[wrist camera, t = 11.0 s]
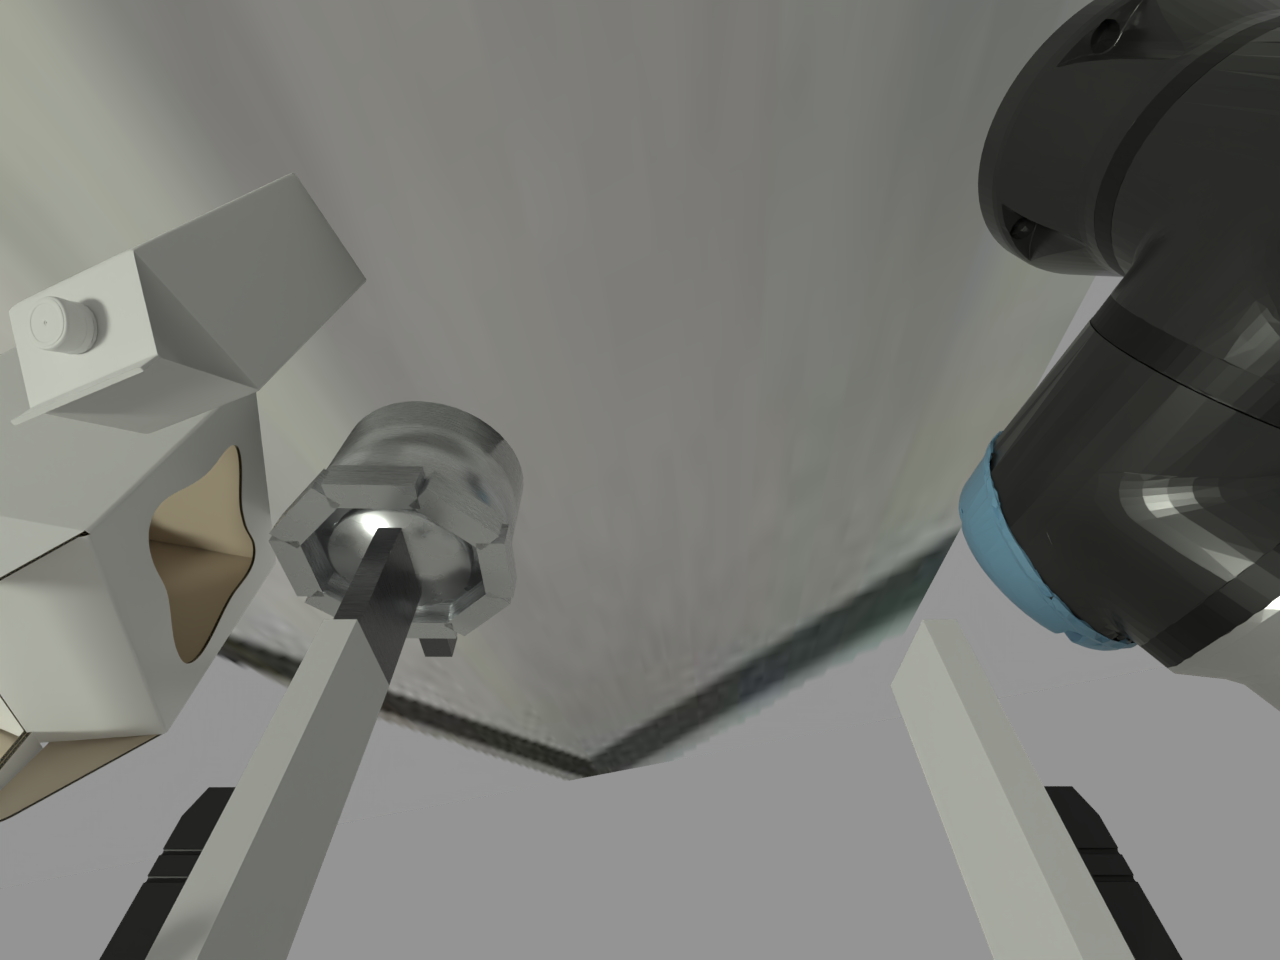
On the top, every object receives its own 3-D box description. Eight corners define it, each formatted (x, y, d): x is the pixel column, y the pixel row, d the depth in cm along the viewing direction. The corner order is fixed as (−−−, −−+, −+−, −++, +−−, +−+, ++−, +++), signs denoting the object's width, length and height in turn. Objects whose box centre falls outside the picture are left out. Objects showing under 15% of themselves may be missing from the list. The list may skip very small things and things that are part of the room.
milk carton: (369, 279, 39) (213, 439, 24) (284, 314, 41) (89, 485, 26) (295, 170, 35) (54, 283, 20) (204, 214, 37) (-83, 350, 22)
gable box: (52, 320, 41) (-608, 670, 19) (255, 369, 43) (-120, 725, 22) (125, 536, 54) (-214, 889, 32) (277, 563, 57) (59, 906, 35)
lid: (462, 500, 40) (422, 620, 32) (482, 594, 46) (452, 714, 38) (316, 498, 40) (238, 619, 32) (356, 593, 46) (299, 714, 38)
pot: (520, 397, 45) (495, 486, 37) (540, 580, 59) (525, 677, 50) (312, 393, 45) (238, 483, 36) (381, 579, 58) (338, 676, 50)
